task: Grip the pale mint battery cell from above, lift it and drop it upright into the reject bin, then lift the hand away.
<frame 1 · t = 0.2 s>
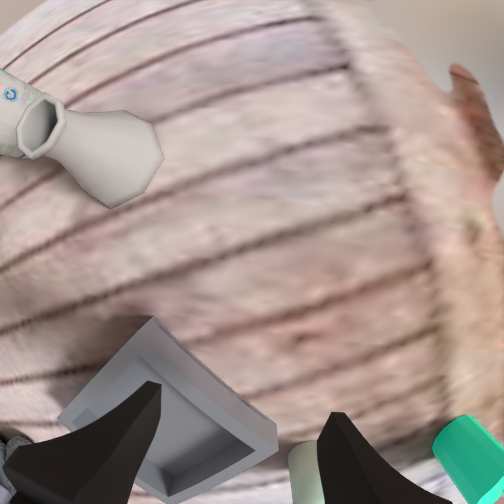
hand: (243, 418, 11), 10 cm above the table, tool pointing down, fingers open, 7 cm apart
spray can: (33, 126, 20), on the table
koala plush: (17, 459, 25), on the table
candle: (453, 435, 23), on the table
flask: (119, 159, 21), on the table
cell: (309, 455, 23), on the table
reject bin: (165, 417, 22), on the table
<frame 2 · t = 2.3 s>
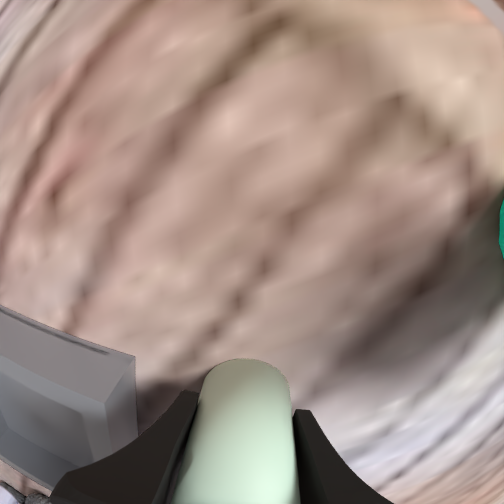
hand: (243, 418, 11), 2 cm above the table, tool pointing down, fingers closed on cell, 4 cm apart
cell: (245, 393, 13), on the table, touching gripper
reject bin: (46, 405, 14), on the table
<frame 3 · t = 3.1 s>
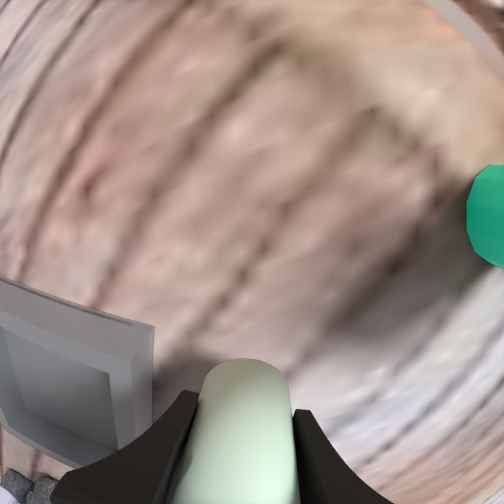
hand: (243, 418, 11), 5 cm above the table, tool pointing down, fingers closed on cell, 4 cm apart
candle: (496, 213, 14), on the table
cell: (245, 393, 13), point 3 cm above the table, touching gripper
reject bin: (67, 380, 17), on the table
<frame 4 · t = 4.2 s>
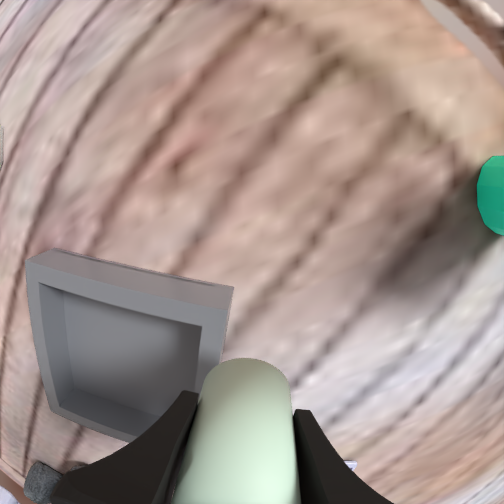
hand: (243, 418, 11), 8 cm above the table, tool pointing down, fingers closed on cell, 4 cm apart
koala plush: (102, 496, 28), on the table
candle: (500, 194, 17), on the table
cell: (246, 392, 13), point 7 cm above the table, touching gripper
reject bin: (130, 351, 20), on the table
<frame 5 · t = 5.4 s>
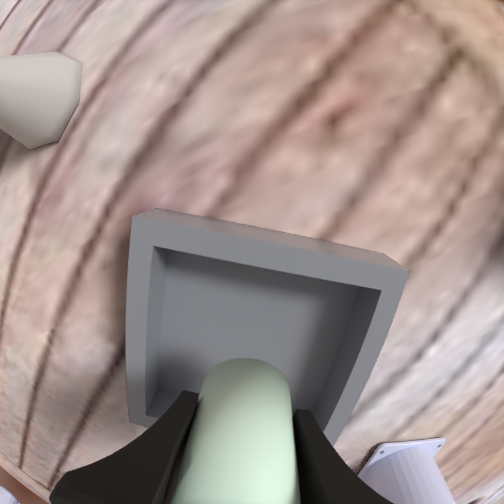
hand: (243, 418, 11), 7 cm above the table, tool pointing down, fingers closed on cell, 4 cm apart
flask: (46, 100, 15), on the table
cell: (245, 392, 13), point 6 cm above the table, touching gripper
reject bin: (250, 336, 18), on the table
when the fingers open (4 cm above the table, at t = 6.5 s): cell drops 2 cm, resting on reject bin.
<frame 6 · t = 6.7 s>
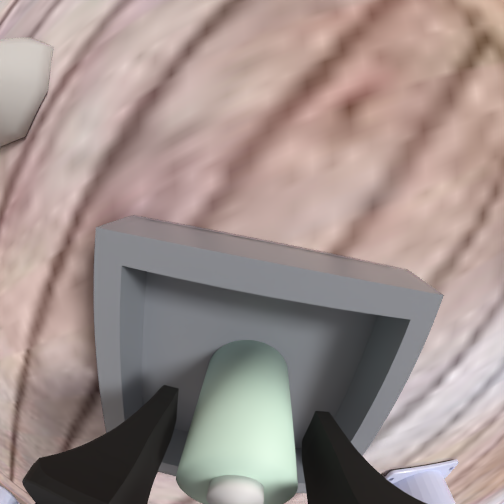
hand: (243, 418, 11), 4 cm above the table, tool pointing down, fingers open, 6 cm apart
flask: (15, 91, 12), on the table
cell: (247, 373, 14), point 1 cm above the table, touching reject bin
reject bin: (247, 367, 15), on the table
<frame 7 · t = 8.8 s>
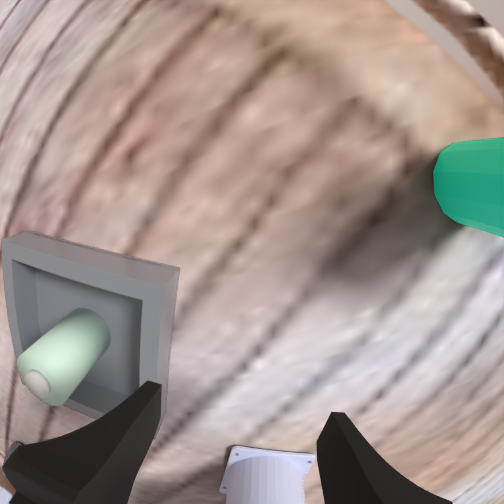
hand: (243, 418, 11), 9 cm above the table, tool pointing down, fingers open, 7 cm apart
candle: (462, 182, 18), on the table
cell: (88, 331, 20), point 1 cm above the table, touching reject bin
reject bin: (92, 328, 21), on the table
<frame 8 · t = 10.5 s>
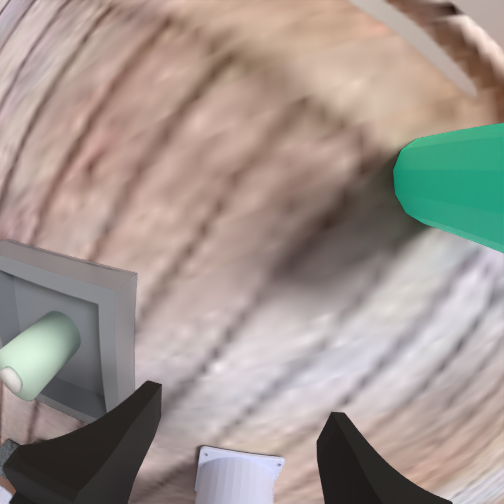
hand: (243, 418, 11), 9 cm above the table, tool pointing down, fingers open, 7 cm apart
koala plush: (64, 476, 29), on the table
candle: (428, 180, 18), on the table
cell: (61, 332, 21), point 1 cm above the table, touching reject bin
reject bin: (65, 329, 21), on the table
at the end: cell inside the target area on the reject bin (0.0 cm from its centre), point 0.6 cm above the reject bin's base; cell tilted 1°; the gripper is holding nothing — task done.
